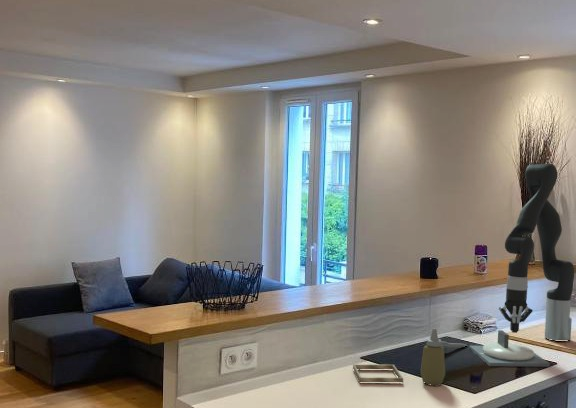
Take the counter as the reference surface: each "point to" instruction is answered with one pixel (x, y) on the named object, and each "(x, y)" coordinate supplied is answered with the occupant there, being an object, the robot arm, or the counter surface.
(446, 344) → the caliper
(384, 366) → the bread board rim
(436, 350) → the squeeze bottle
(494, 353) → the dial
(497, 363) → the dial plate
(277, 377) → the counter surface
